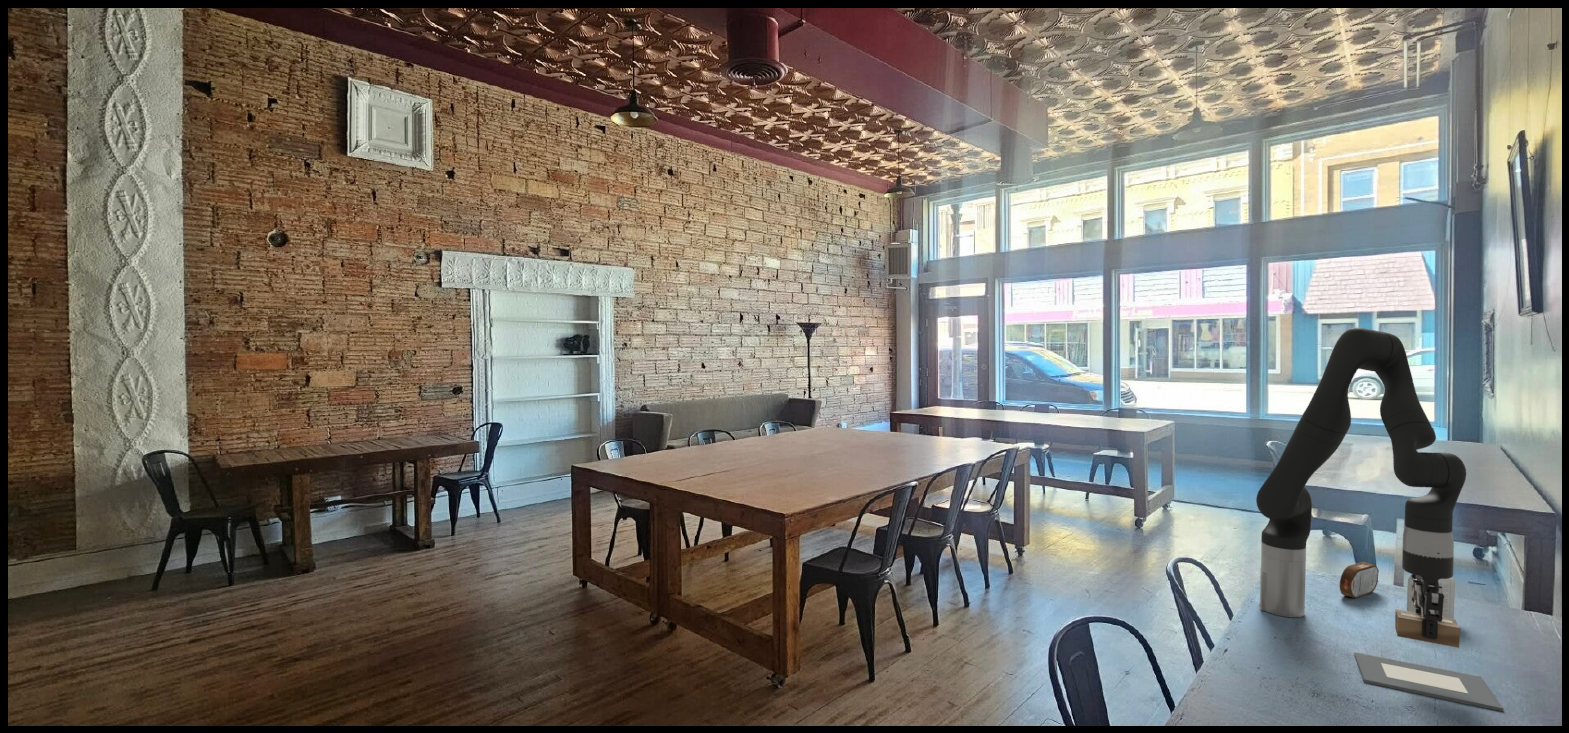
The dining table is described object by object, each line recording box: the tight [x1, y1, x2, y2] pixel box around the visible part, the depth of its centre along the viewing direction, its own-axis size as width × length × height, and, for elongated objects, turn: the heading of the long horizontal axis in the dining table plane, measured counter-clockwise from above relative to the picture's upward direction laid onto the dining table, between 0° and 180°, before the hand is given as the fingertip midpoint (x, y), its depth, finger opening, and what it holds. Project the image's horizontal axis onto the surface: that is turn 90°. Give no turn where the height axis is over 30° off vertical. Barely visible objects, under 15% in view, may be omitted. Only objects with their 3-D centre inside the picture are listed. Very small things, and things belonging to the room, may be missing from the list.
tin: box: [1339, 561, 1379, 599], centre depth 183 cm, size 15×3×8 cm, turn 116°
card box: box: [1394, 609, 1461, 649], centre depth 138 cm, size 5×9×4 cm, turn 52°
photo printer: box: [1406, 575, 1456, 619], centre depth 167 cm, size 10×4×12 cm, turn 98°
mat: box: [1353, 651, 1504, 712], centre depth 138 cm, size 20×14×1 cm
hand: (1426, 632), depth 138 cm, fingers closed on card box, 5 cm apart
